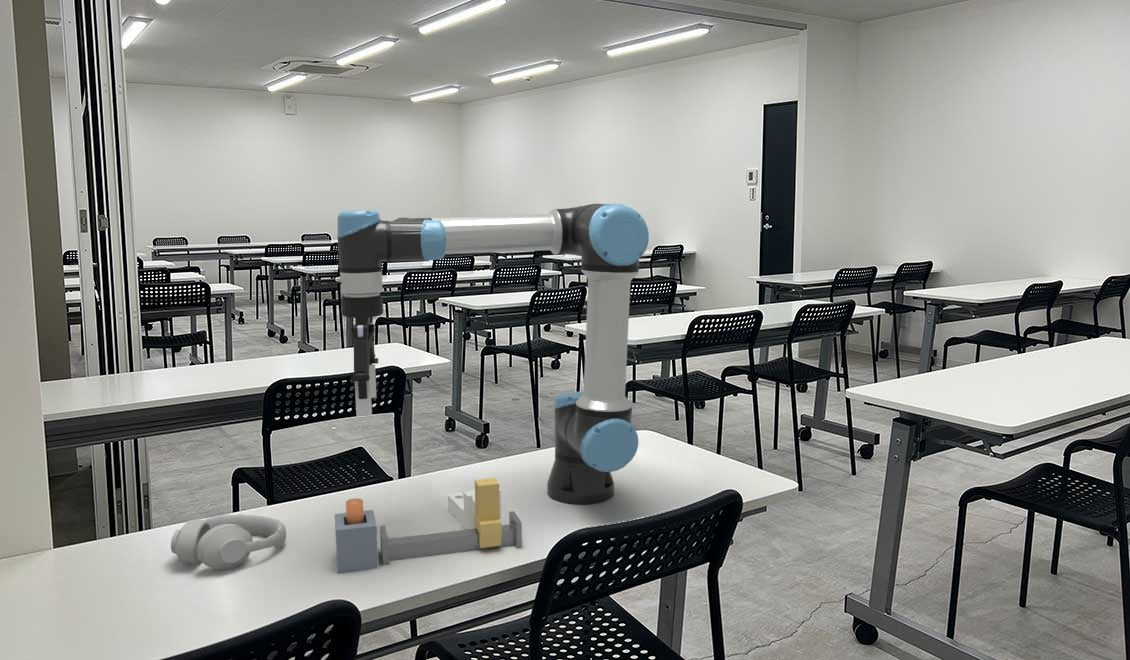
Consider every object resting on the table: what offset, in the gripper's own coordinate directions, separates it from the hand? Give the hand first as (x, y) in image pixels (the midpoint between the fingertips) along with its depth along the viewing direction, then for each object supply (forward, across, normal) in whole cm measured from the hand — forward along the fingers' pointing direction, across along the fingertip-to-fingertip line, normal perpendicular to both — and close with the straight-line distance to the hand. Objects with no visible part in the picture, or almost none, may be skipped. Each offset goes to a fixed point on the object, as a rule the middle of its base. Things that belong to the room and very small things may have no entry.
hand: (366, 406), depth 158 cm
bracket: (+28, -10, +20) cm, 36 cm away
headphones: (+27, +1, -26) cm, 38 cm away
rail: (+27, +6, +15) cm, 32 cm away
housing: (+27, +8, -2) cm, 28 cm away
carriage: (+27, +5, +22) cm, 35 cm away
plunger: (+21, +8, -2) cm, 22 cm away
